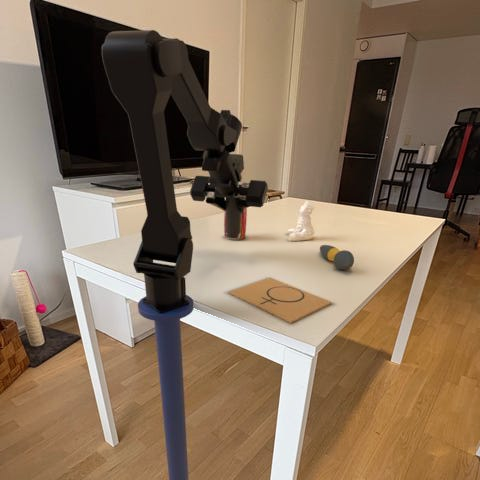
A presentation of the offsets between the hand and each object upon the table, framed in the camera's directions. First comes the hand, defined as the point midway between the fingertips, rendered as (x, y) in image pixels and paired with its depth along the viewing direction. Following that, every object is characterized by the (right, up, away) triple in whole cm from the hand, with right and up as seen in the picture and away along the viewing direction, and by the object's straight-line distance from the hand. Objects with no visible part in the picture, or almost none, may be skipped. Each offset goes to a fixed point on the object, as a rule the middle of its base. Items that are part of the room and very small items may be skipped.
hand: (235, 211), depth 92 cm
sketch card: (+9, -25, -20) cm, 33 cm away
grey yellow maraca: (+26, -14, +1) cm, 30 cm away
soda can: (0, -3, +19) cm, 20 cm away
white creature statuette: (+22, -2, +22) cm, 31 cm away
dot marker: (-1, -6, +2) cm, 7 cm away
